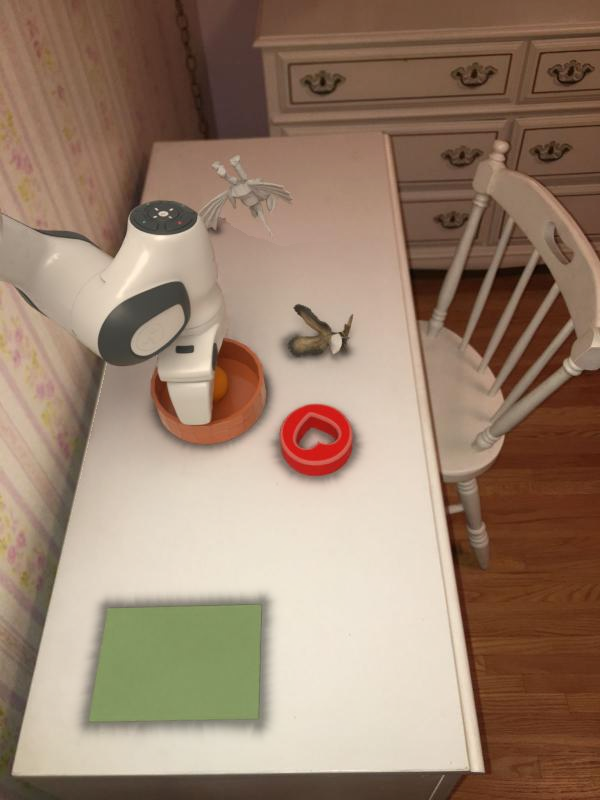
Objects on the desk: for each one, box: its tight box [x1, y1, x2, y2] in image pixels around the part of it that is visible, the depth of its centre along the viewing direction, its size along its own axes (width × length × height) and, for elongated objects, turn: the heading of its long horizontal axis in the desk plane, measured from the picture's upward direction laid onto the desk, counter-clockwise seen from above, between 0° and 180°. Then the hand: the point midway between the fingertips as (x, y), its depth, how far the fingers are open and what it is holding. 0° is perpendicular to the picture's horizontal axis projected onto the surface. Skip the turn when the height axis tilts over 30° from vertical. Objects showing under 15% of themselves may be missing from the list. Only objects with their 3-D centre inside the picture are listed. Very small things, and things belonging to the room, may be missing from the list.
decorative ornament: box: [279, 403, 354, 477], centre depth 86 cm, size 10×10×3 cm
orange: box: [213, 365, 228, 404], centre depth 90 cm, size 6×6×6 cm
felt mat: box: [88, 604, 263, 723], centre depth 71 cm, size 18×12×1 cm, turn 90°
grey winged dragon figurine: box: [197, 154, 295, 239], centre depth 109 cm, size 10×18×14 cm, turn 85°
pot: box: [150, 337, 267, 445], centre depth 91 cm, size 16×16×4 cm
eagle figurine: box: [286, 303, 354, 357], centre depth 95 cm, size 8×7×9 cm
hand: (208, 387), depth 90 cm, fingers closed on orange, 5 cm apart
